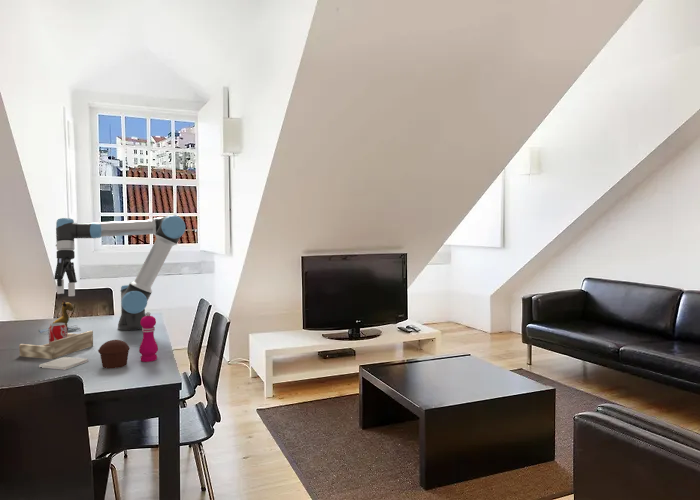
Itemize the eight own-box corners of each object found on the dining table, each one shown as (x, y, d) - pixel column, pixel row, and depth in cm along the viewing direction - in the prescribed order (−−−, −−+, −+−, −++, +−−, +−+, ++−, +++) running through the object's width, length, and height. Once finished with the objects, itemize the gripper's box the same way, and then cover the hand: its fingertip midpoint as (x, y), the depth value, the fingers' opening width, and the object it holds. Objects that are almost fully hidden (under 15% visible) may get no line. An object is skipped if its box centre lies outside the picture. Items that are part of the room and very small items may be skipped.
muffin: (116, 360, 210) (115, 336, 210) (136, 363, 206) (136, 338, 205) (91, 367, 199) (91, 342, 199) (112, 371, 195) (112, 345, 194)
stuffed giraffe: (81, 331, 264) (79, 300, 264) (41, 336, 254) (39, 304, 253) (77, 326, 278) (75, 297, 277) (38, 331, 267) (36, 301, 267)
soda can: (59, 353, 220) (58, 325, 219) (45, 352, 221) (44, 325, 221) (71, 349, 227) (70, 322, 226) (57, 348, 228) (56, 321, 228)
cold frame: (93, 345, 234) (92, 330, 233) (52, 359, 211) (51, 342, 211) (62, 343, 237) (62, 328, 237) (19, 356, 215) (19, 339, 215)
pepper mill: (142, 357, 214) (141, 310, 213) (160, 357, 215) (159, 310, 214) (136, 362, 207) (136, 313, 206) (155, 362, 208) (154, 313, 207)
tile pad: (88, 361, 208) (87, 359, 208) (65, 369, 196) (65, 367, 196) (63, 359, 211) (63, 356, 211) (39, 367, 199) (39, 364, 199)
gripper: (67, 255, 255) (67, 297, 252) (45, 246, 231) (46, 293, 227) (83, 254, 256) (84, 296, 253) (63, 245, 232) (64, 291, 229)
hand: (66, 295), depth 240 cm, fingers open, 13 cm apart
